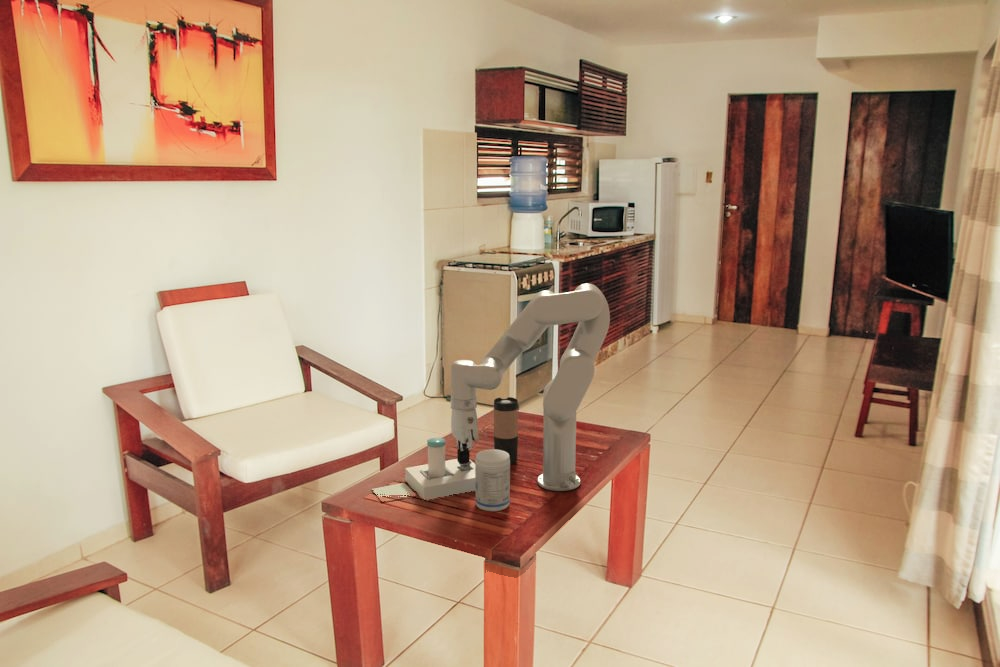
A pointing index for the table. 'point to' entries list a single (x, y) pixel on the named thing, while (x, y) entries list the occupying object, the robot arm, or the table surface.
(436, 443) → the cartridge
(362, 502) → the table surface
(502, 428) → the travel mug
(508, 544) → the table surface
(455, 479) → the housing
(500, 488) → the supplement tub
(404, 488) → the mat
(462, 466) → the plunger
